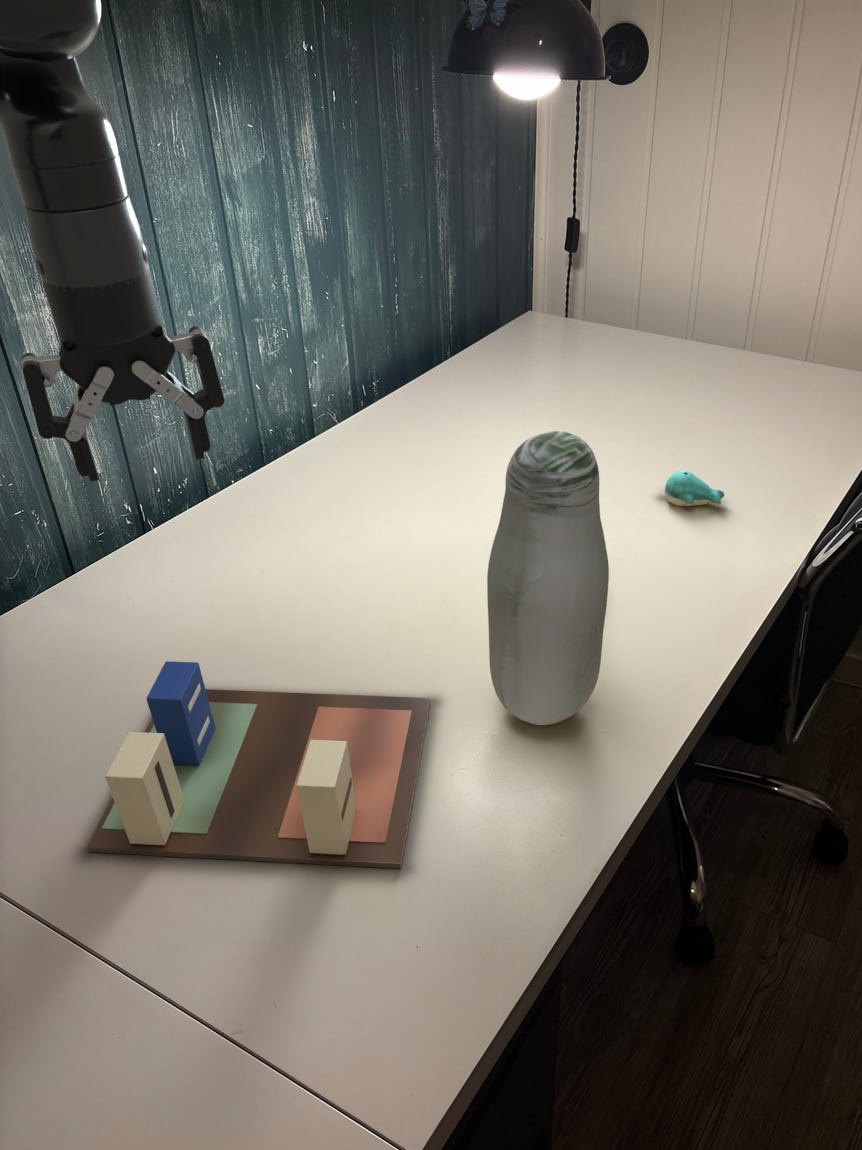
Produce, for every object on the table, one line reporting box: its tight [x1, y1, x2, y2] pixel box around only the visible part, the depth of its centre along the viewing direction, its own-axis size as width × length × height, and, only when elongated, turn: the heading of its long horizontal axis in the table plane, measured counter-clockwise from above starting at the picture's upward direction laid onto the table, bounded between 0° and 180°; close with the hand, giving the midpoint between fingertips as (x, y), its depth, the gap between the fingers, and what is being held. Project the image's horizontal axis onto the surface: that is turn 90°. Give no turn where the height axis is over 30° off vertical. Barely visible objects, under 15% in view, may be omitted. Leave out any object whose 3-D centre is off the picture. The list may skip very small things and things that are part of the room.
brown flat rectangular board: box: [86, 688, 431, 869], centre depth 85 cm, size 26×20×1 cm
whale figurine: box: [664, 470, 725, 507], centre depth 120 cm, size 6×7×4 cm
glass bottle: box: [486, 430, 610, 726], centre depth 82 cm, size 10×10×28 cm
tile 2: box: [296, 740, 357, 855], centre depth 76 cm, size 3×5×8 cm, turn 175°
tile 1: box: [104, 731, 184, 845], centre depth 77 cm, size 3×5×8 cm, turn 176°
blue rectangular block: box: [146, 660, 215, 766], centre depth 84 cm, size 3×5×8 cm, turn 175°
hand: (147, 466), depth 79 cm, fingers open, 8 cm apart
